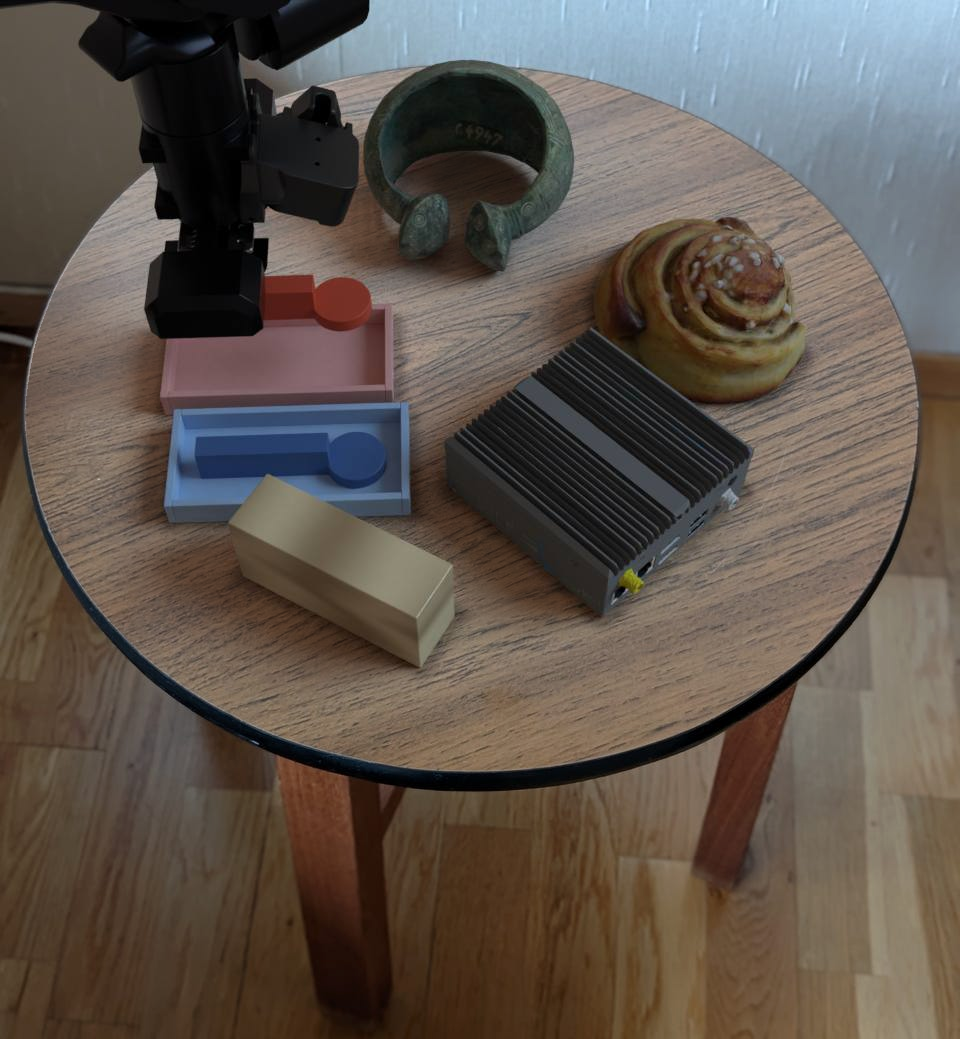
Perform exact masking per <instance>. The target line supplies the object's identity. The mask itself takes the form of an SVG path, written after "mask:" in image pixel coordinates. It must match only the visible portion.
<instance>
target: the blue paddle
mask: <svg viewBox="0 0 960 1039" xmlns="http://www.w3.org/2000/svg"><path fill="white" fill-rule="evenodd" d="M194 456H195V460H196V463H197V466H198V469H199V473H200V476H201V479H212V478H242V477H265V475H266V474H269V475H271V476H302V475H330V477H331V478H332V479H333V480H334V481H335V482H336V483H338V484H339V485H341V486H344V487H347V488H363V487H367V486H369V485H371V484H373V483H375V482H376V481H377V480H378V479H379V478H380V477H381V476H382V475H383V473H384V471H385V469H386V453H385V448H384V446H383V444H382V443H381V442H380V441H379V440H378V439H377V438H376V437H374V436H373V435H371V434H368V433H365V432H349V433H346V434H343V435H341V436H339V437H337V438H336V439H335V440H333V441H332V443H331V444H330V443H329V436H328V433H298V434H268V435H237V436H206V437H196V444H195V454H194Z"/></svg>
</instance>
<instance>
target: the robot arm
mask: <svg viewBox="0 0 960 1039" xmlns="http://www.w3.org/2000/svg"><path fill="white" fill-rule="evenodd" d="M370 1H371V0H0V10H2V9H10V8H11V9H12V8H19V7H28V6H29V7H30V6H38V5H45V4H46V5H47V4H60V5H72V6H73V5H74V6H79V7H82V8H86V9H89V10H93V11H97V12H99V13H98V15H97V17H96V18H95V20H94V21H93V22H92V23H90V24H89V25H88V26H87V27H86V28H85V29H84V31H83V33H82V35H81V36H80V37H79V39H78V40H77V41H78V42H77V46H78V48H79V50H80V51H81V52H82V53H84V54H85V55H86V56H87V57H88V58H89V59H91V60H92V62H94V63H95V64H97V65H98V66H99V67H100V68H101V69H102V70H104V71H105V72H106V73H107V74H108V75H109V76H111V78H113V79H114V80H115V81H116V82H119V83H123V82H125V81H127V80H130V82H131V86H132V90H133V93H134V97H135V101H136V104H137V109H138V113H139V116H140V120H141V128H140V129H141V130H140V134H139V135H140V136H139V142H138V151H139V156H140V160H141V163H142V164H152V166H153V169H154V173H155V177H156V181H157V182H156V190H155V197H154V206H153V208H154V211H155V215H156V219H157V220H158V221H163V220H179V222H180V223H179V232H178V239H176V240H175V239H174V240H173V239H172V240H165V243H164V250H163V251H162V252H161V253H160V254H159V255H157V256H156V258H154V259H153V260H152V261H151V262H150V263H149V267H148V274H147V281H146V282H147V283H146V290H145V291H146V292H145V298H144V306H143V311H144V314H145V317H146V321H147V324H148V327H149V330H150V332H151V333H152V334H153V335H154V336H155V337H157V338H158V339H159V340H166V339H180V338H214V337H247V336H254V335H255V334H257V333H258V332H259V331H261V330H262V329H263V328H264V314H265V298H266V290H265V276H266V275H265V273H266V271H267V269H268V263H269V262H268V260H269V245H270V244H269V243H270V237H255V232H256V230H255V225H254V224H265V222H266V209H268V208H269V209H270V210H273V212H276V213H281V214H284V215H289V216H292V217H297V218H302V219H306V220H311V221H314V222H316V223H318V224H319V225H321V226H325V227H330V228H331V227H332V228H334V227H339V226H340V225H342V224H343V223H344V221H345V218H346V216H347V213H348V210H349V208H350V205H351V202H352V200H353V197H354V195H355V191H356V190H357V186H358V184H359V180H360V142H359V140H358V137H356V135H355V134H354V133H353V132H354V131H353V129H354V128H353V126H354V124H353V123H352V122H348V121H346V122H345V125H343V123H342V112H341V108H340V104H339V101H338V96H337V93H336V91H334V90H332V89H329V88H326V87H321V86H318V85H313V84H312V85H310V87H309V88H307V89H306V90H305V91H304V92H302V93H301V95H299V96H298V97H297V98H296V99H294V101H293V102H292V103H291V106H290V107H289V106H283V109H282V111H281V112H278V111H277V104H276V99H275V98H276V97H275V92H274V89H272V88H271V87H270V86H268V85H267V84H265V83H264V82H262V81H261V80H260V79H258V78H255V77H254V78H253V77H252V78H244V75H243V70H242V63H241V58H240V55H241V56H242V57H243V58H245V59H246V60H248V61H251V62H254V61H257V60H258V61H259V62H260V63H261V64H262V65H264V66H265V67H267V68H270V69H271V70H275V71H279V70H282V69H284V68H286V67H288V66H289V65H291V64H294V63H295V62H296V61H299V60H300V59H302V58H304V57H305V56H307V55H309V54H311V53H313V52H315V51H317V50H318V49H320V48H322V47H325V46H326V45H327V44H329V43H331V42H333V41H335V40H337V39H338V38H340V37H342V36H343V35H345V34H347V33H349V32H351V31H352V30H355V29H357V28H358V27H360V26H362V25H363V24H364V23H365V22H366V20H367V19H368V17H369V13H370V3H371V2H370Z"/></svg>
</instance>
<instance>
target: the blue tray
mask: <svg viewBox="0 0 960 1039" xmlns="http://www.w3.org/2000/svg"><path fill="white" fill-rule="evenodd" d="M172 416H173V417H172V426H171V435H170V445H169V453H168V463H167V471H166V479H165V480H166V481H165V490H164V499H163V500H164V501H163V508H164V511H165V514H166V516H167V519H168V523H169V524H184V523H213V522H216V523H217V522H228V521H229V520H230V519H231V518H232V516H233V515H234V514H235V513H236V512H237V510H238V509H239V508H240V507H241V505H242V504H243V503H244V502H245V500H246V499H247V498H248V497H249V495H250V494H251V493H252V492H253V490H254V489H255V488H256V487H257V485H258V484H259V483H260V482H261V480H262V479H263V478H264V477H242V478H212V479H201V476H200V473H199V469H198V466H197V463H196V460H195V456H194V454H195V444H196V437H206V436H237V435H268V434H298V433H328V436H329V443H330V444H331V443H332V441H333V440H335V439H336V438H337V437H339V436H341V435H343V434H346V433H349V432H365V433H368V434H371V435H373V436H374V437H376V438H377V439H378V440H379V441H380V442H381V443H382V444H383V446H384V448H385V453H386V469H385V471H384V473H383V475H382V476H381V477H380V478H379V479H378V480H377V481H376V482H375V483H373V484H371V485H369V486H367V487H363V488H347V487H344V486H341V485H339V484H338V483H336V482H335V481H334V480H333V479H332V478H331V477H330V475H302V476H273V477H275V478H278V479H280V480H282V481H284V482H286V483H288V484H290V485H292V486H294V487H296V488H298V489H300V490H302V491H304V492H306V493H308V494H310V495H312V496H314V497H316V498H318V499H320V500H322V501H324V502H326V503H328V504H330V505H332V506H334V507H337V508H339V509H341V510H343V511H345V512H347V513H349V514H351V515H353V516H355V517H357V518H365V517H389V516H390V517H391V516H392V517H393V516H411V514H412V510H411V509H412V508H411V507H412V506H411V500H412V499H411V440H410V439H411V438H410V437H411V436H410V434H411V433H410V409H409V401H398V402H396V401H394V402H393V403H362V404H330V405H299V406H267V407H236V408H204V409H182V410H181V409H175V410H174V414H173V415H172Z"/></svg>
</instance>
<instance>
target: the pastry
mask: <svg viewBox="0 0 960 1039" xmlns="http://www.w3.org/2000/svg"><path fill="white" fill-rule="evenodd" d="M785 264H786V259H785V257H784V256H782V255H780V254H779V253H777V252H775V250H773V248H772V247H771V245H769V243H767V241H764V240H763V239H762V238H760V236H759V235H757V234H756V233H755V231H754V230H753V229H752V227H750V225H749V224H748V223H747V221H745V220H743V219H742V218H741V219H740V218H738V217H735V216H734V217H732V216H722V217H720V218H718V219H717V220H716V221H713V220H711V219H710V220H709V219H704V218H703V219H702V218H677V219H674V220H670V221H667V222H663V223H660V224H657V225H655V226H651V227H649V228H646V229H643V230H641V231H640V232H638V233H637V234H636V235H635V236H634V237H633V238H632V239H631V240H630V241H629V242H627V243H626V244H624V245H623V246H622V247H621V248H619V249H618V250H617V252H616V253H615V254H614V255H613V256H612V257H611V258H610V259H609V261H608V262H607V264H606V265H605V266H604V268H603V270H602V272H601V274H600V276H599V277H598V280H597V283H596V285H595V288H594V292H593V301H592V302H593V303H592V304H593V314H594V317H595V322H596V325H597V328H598V331H599V334H601V335H602V336H603V337H605V338H606V339H607V340H609V341H610V342H611V343H613V344H614V345H615V346H617V347H618V348H619V349H621V350H622V351H623V352H625V353H626V354H628V355H629V356H630V357H632V358H633V359H634V360H636V361H637V362H638V363H640V364H641V365H642V366H644V367H645V368H646V369H648V370H649V371H650V372H652V373H653V374H654V375H656V376H657V377H658V378H660V379H661V380H662V381H664V382H665V383H666V384H668V385H669V386H670V387H672V388H673V389H674V390H676V391H677V392H679V393H680V394H681V395H683V396H684V397H685V398H687V399H690V400H693V401H694V400H695V401H699V402H705V403H711V404H712V403H713V404H727V403H728V404H729V403H736V402H738V403H739V402H747V401H748V402H749V401H754V400H757V399H760V398H762V397H766V396H767V395H770V394H771V393H773V392H774V391H776V390H777V389H778V387H780V385H781V384H782V382H784V381H785V380H787V379H788V378H789V377H790V376H791V374H792V373H793V371H794V370H795V368H796V367H797V365H798V364H799V363H800V362H801V360H802V358H803V355H804V352H805V349H806V341H805V338H806V333H807V328H806V325H804V324H803V323H802V322H800V321H795V322H794V317H795V314H796V297H795V293H794V289H793V286H792V277H791V275H790V274H789V272H788V270H787V269H786V267H785Z"/></svg>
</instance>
